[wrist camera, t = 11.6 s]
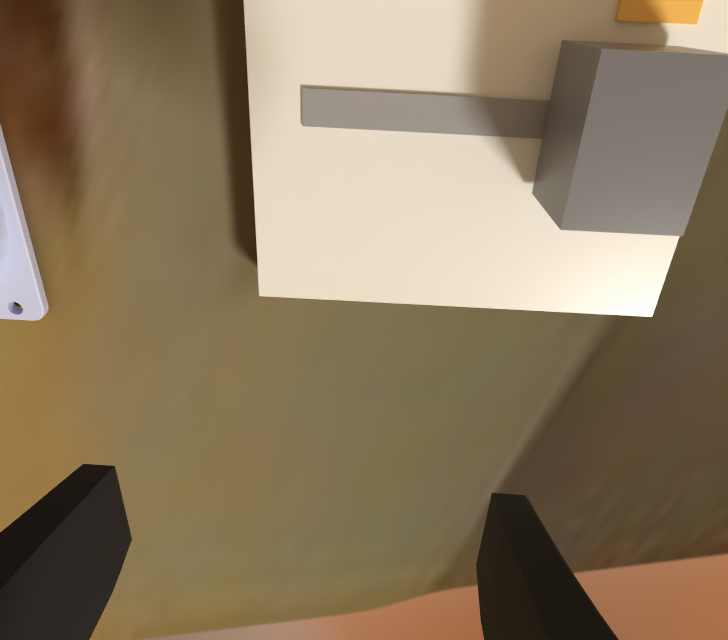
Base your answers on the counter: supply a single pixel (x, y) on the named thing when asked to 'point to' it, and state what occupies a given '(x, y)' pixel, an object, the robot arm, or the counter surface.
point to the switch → (629, 135)
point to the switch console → (437, 151)
